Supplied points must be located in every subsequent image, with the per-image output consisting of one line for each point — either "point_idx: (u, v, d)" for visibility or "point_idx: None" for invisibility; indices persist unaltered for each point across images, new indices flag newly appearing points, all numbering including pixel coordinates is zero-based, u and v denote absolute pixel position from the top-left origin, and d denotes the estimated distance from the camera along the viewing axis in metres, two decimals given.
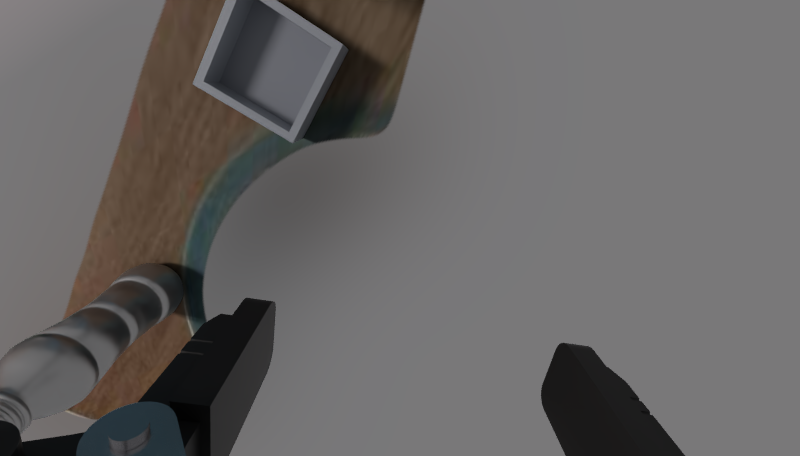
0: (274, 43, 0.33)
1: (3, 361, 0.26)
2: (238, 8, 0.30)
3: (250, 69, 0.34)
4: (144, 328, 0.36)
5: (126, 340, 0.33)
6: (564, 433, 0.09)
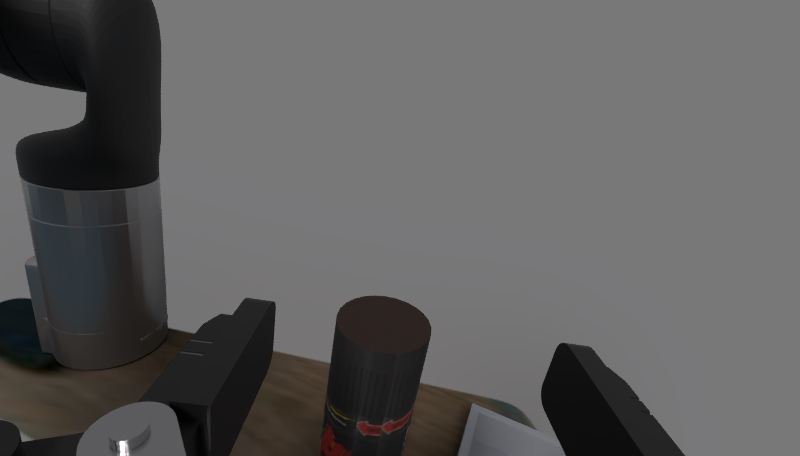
0: None
1: None
2: None
3: None
4: None
5: None
6: (564, 433, 0.09)
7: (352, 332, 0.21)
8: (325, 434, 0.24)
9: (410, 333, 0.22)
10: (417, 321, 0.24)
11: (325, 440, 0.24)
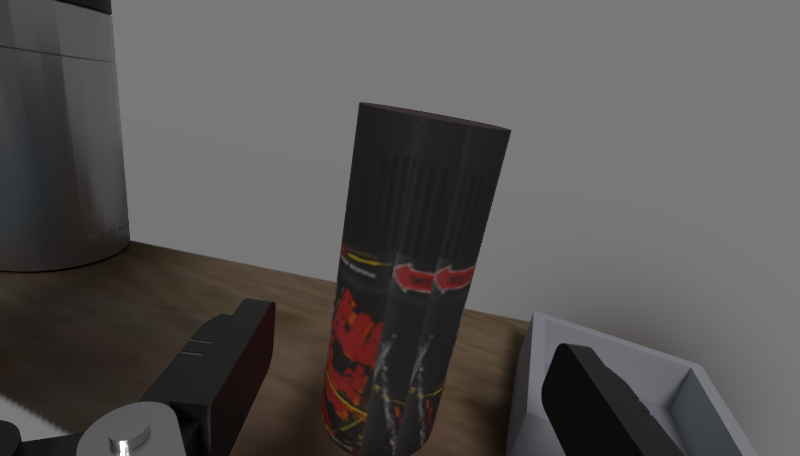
0: None
1: None
2: None
3: None
4: None
5: None
6: (564, 433, 0.09)
7: (387, 109, 0.13)
8: (339, 308, 0.16)
9: (479, 124, 0.14)
10: (484, 124, 0.15)
11: (339, 318, 0.16)
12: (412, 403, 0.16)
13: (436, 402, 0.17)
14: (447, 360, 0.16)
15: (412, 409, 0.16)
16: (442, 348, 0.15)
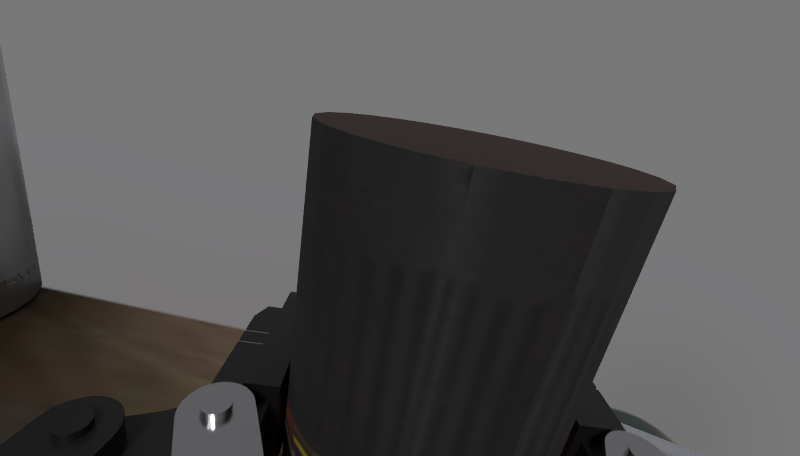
0: None
1: None
2: None
3: None
4: None
5: None
6: None
7: (376, 133, 0.05)
8: None
9: (591, 165, 0.06)
10: (583, 157, 0.07)
11: None
12: None
13: None
14: None
15: None
16: None
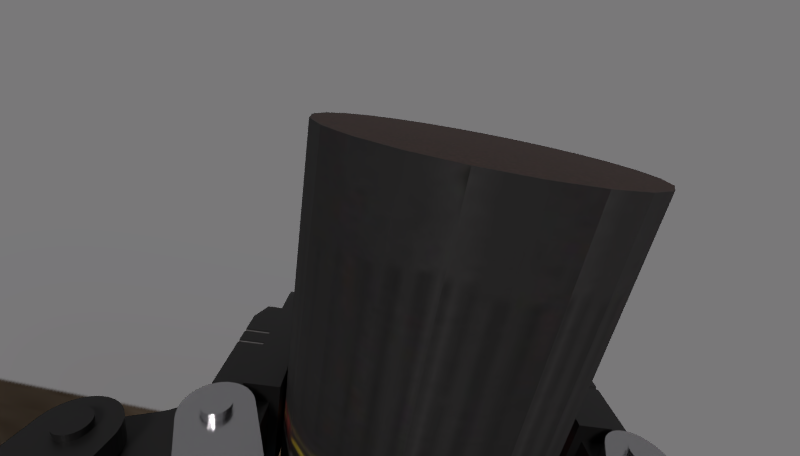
0: None
1: None
2: None
3: None
4: None
5: None
6: None
7: (373, 134, 0.05)
8: None
9: (589, 166, 0.06)
10: (581, 158, 0.07)
11: None
12: None
13: None
14: None
15: None
16: None
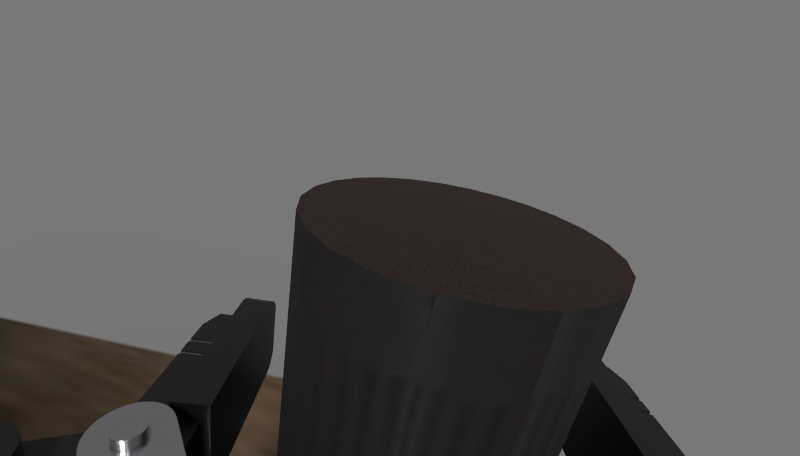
0: None
1: None
2: None
3: None
4: None
5: None
6: None
7: (354, 235, 0.05)
8: None
9: (559, 251, 0.06)
10: (557, 228, 0.08)
11: None
12: None
13: None
14: None
15: None
16: None
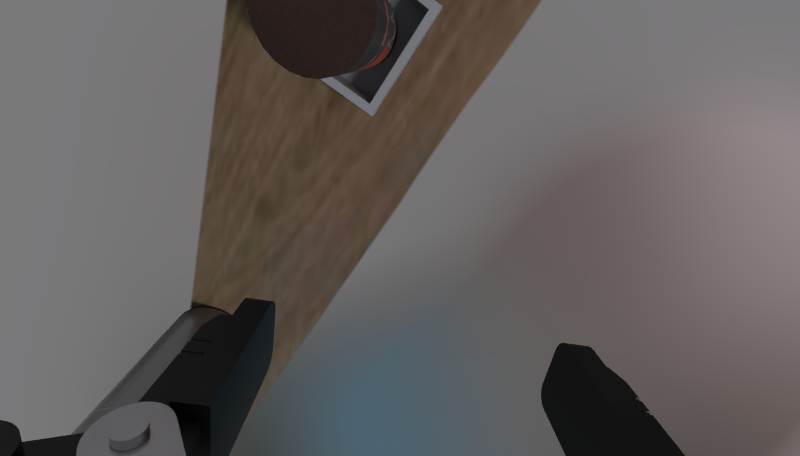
0: None
1: None
2: None
3: None
4: None
5: None
6: (564, 433, 0.09)
7: (338, 60, 0.18)
8: None
9: None
10: None
11: None
12: (394, 19, 0.27)
13: None
14: None
15: (394, 18, 0.27)
16: None
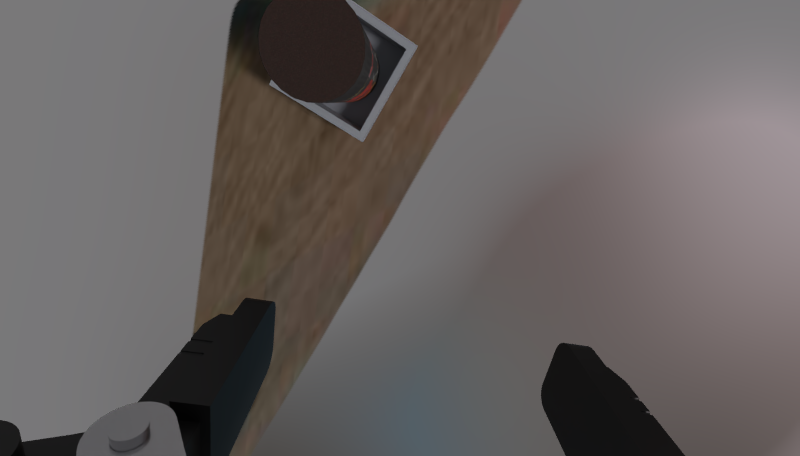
0: None
1: None
2: None
3: None
4: None
5: None
6: (564, 433, 0.09)
7: (335, 87, 0.21)
8: (350, 100, 0.29)
9: (330, 17, 0.20)
10: (307, 0, 0.20)
11: (352, 99, 0.30)
12: (376, 58, 0.31)
13: None
14: None
15: (376, 57, 0.32)
16: None
